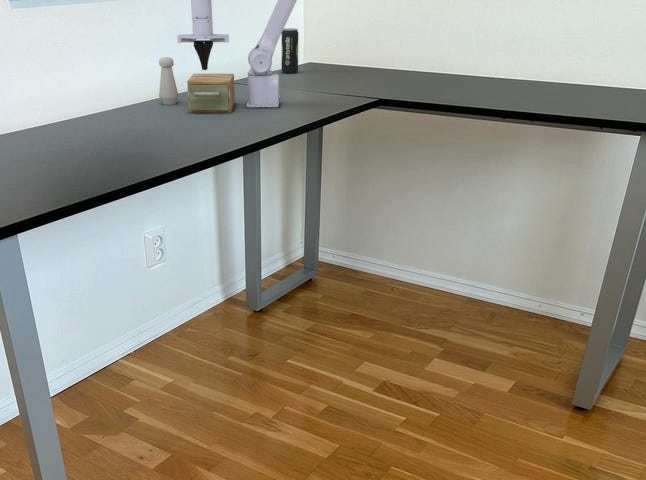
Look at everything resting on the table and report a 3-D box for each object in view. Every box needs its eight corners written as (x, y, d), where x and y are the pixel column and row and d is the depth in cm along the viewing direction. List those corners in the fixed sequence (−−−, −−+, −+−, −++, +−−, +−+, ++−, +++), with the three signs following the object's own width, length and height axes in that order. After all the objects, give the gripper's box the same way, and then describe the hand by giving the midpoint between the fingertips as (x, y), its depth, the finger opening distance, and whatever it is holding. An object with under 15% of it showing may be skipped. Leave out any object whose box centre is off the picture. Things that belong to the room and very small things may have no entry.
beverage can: (280, 73, 264) (280, 29, 256) (282, 71, 269) (282, 28, 261) (296, 74, 263) (297, 30, 255) (299, 71, 268) (299, 28, 260)
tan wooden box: (231, 112, 202) (229, 81, 198) (189, 112, 202) (187, 81, 198) (234, 103, 214) (233, 73, 209) (195, 103, 214) (193, 73, 210)
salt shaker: (175, 105, 211) (171, 59, 205) (157, 105, 212) (153, 58, 206) (181, 102, 216) (178, 56, 210) (163, 101, 217) (160, 56, 211)
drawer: (226, 113, 196) (225, 88, 193) (188, 113, 196) (186, 88, 193) (232, 102, 211) (231, 78, 208) (196, 102, 212) (194, 78, 208)
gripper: (174, 19, 194) (178, 71, 201) (226, 18, 194) (228, 71, 201) (178, 17, 200) (181, 68, 207) (228, 16, 200) (230, 67, 207)
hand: (204, 69), depth 204 cm, fingers closed
